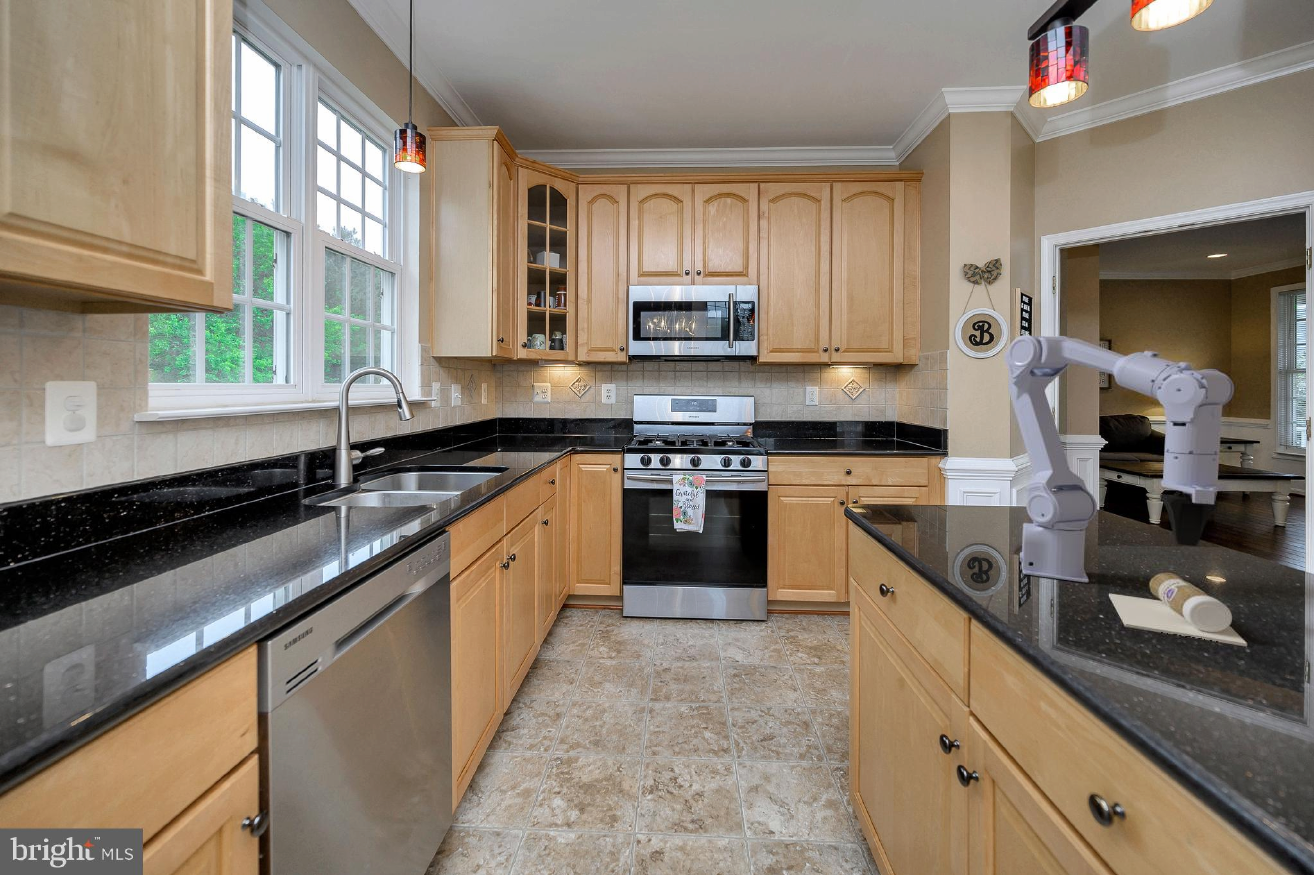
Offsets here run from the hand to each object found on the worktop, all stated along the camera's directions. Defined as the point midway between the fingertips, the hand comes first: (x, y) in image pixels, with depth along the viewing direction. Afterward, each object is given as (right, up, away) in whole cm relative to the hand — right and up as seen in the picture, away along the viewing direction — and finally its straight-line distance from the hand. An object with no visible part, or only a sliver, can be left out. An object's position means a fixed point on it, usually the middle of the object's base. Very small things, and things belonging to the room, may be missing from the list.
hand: (1185, 544), depth 80 cm
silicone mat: (-3, -11, -1) cm, 11 cm away
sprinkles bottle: (+2, -8, +5) cm, 9 cm away
